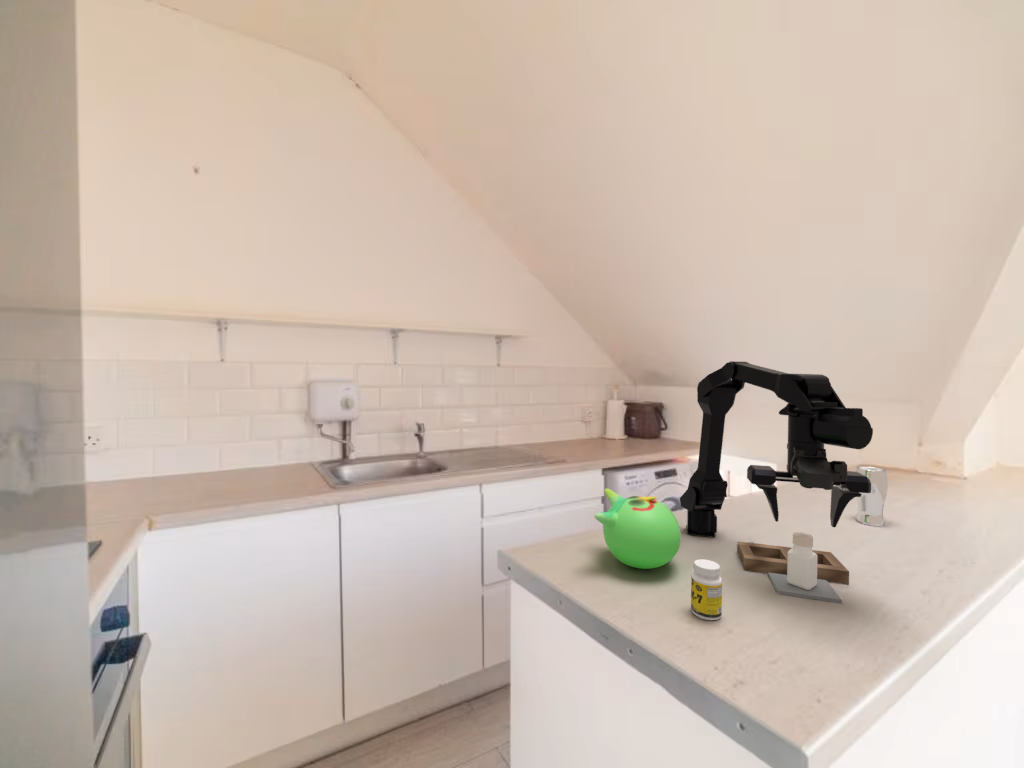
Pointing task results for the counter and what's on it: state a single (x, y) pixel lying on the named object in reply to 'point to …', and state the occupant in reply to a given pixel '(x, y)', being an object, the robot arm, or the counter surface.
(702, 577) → the supplement bottle
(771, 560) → the wooden compartment tray
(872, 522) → the beer glass
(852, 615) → the counter surface
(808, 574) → the pepper shaker
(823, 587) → the rubber pad
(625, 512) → the toy bird
